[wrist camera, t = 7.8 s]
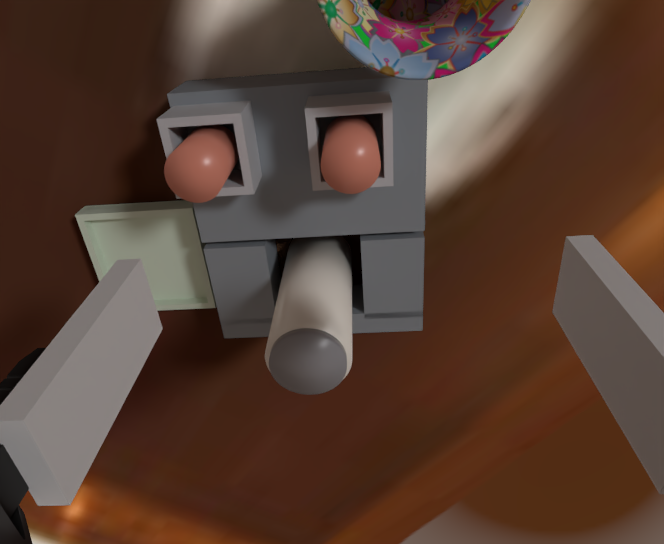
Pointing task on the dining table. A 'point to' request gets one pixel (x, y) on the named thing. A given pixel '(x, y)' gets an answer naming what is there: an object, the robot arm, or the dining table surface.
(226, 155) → the plunger
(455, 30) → the mug
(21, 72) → the dining table surface
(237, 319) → the housing
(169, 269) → the tray
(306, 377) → the cylinder
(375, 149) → the plunger
